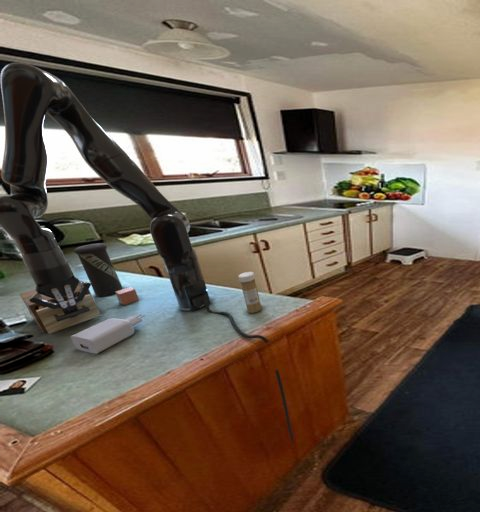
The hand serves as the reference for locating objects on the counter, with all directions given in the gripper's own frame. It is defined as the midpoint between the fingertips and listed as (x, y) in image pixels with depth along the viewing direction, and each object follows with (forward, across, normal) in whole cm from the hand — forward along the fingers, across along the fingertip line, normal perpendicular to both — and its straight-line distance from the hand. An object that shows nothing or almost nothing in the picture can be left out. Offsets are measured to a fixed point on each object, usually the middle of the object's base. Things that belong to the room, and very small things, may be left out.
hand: (73, 316), depth 84 cm
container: (+5, +14, +27) cm, 30 cm away
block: (+4, +15, +9) cm, 18 cm away
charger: (+5, +5, -16) cm, 18 cm away
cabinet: (+4, 0, +15) cm, 15 cm away
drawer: (+4, 0, +7) cm, 8 cm away
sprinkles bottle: (+5, +34, -40) cm, 53 cm away
